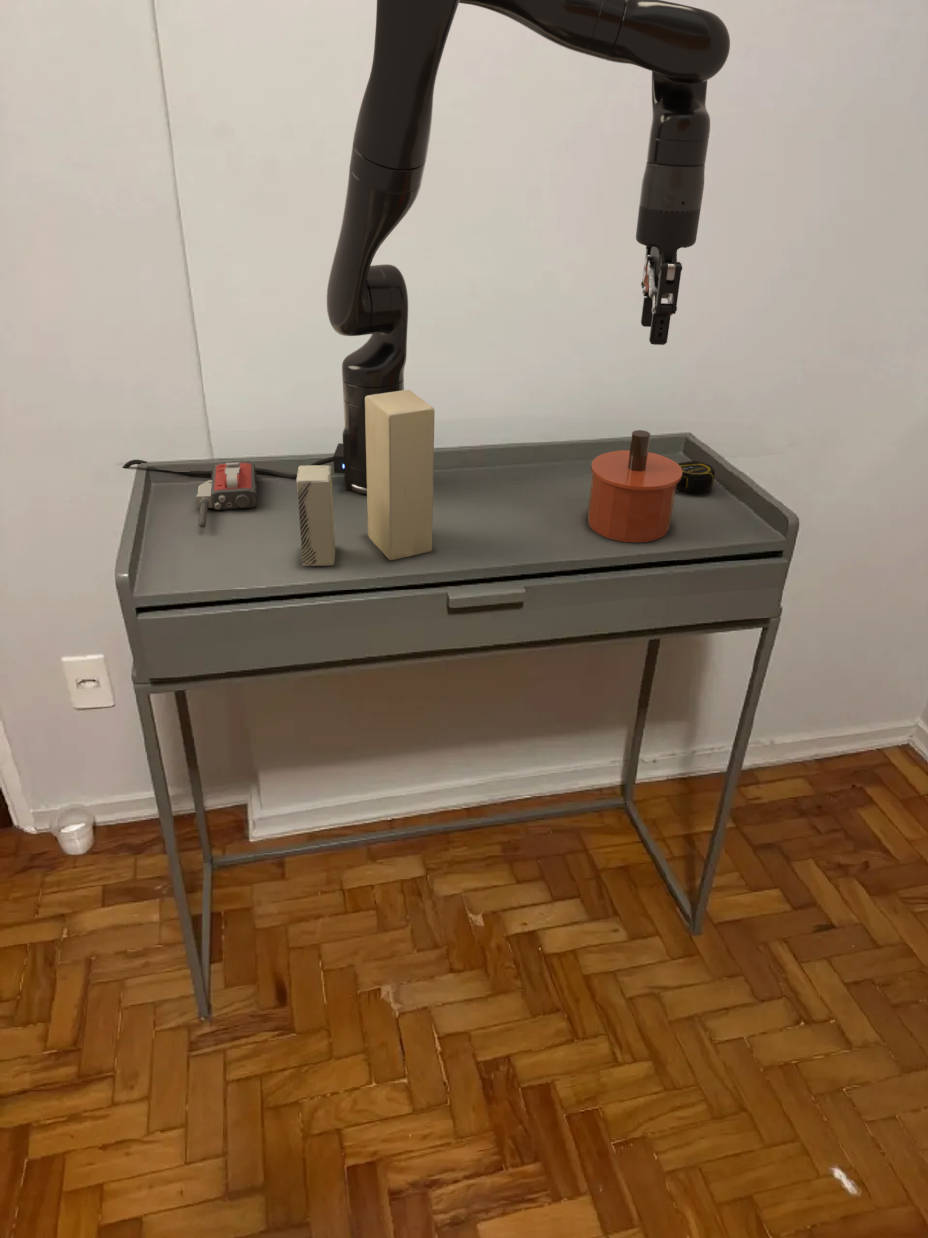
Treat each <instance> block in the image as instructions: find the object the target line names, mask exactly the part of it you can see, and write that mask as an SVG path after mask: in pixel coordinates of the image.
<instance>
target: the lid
mask: <svg viewBox="0 0 928 1238" xmlns="http://www.w3.org/2000/svg"><path fill="white" fill-rule="evenodd" d="M650 442H651V433H650V431H647V430H642V429H637V430H633V431H632V432H631V437H630V446H629V449H623V450H613V451H608V452H604V453H601V454H600V455H599V454H598V455H597V456H596V457H595V458H594V459H593V460H592V461H591V465H590V470H591V474H592V473H593V474H594V475H595V476H596V477H597V478H598V479H600V480H602V481H603V482H605V483H608V484H610V485H613V486H617V487H621V488H625V489H632V490H659V489H665V488H668V487H671V486H673V485H675V484H677V483H678V482H679V481H680V480H681V478H682V469H681V467H680V466H679V465H678V463H677V462H676V461H674V460H673V459H671V458H669V457H666V456H665V455H661V454H657V453H654V452H650V451H649V450H650V449H649V448H650Z"/></svg>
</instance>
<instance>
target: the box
mask: <svg viewBox="0 0 928 1238" xmlns="http://www.w3.org/2000/svg"><path fill="white" fill-rule="evenodd" d="M296 474H297V479H296V489H297V490H296V491H297V502H298V516H299V518H298V519H299V533H300V549H301V562H302V566H303V567H321V566H323V567H324V566H325V567H326V566H327V567H329V566H330V567H331V566H334V565H335V559H336V540H335V539H336V538H335V521H334V517H335V516H334V500H333V498H334V497H333V482H332V466H331V465H327V464H322V465H317V466H310V465H299V466H298V468H297V473H296Z"/></svg>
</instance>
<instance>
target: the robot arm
mask: <svg viewBox="0 0 928 1238" xmlns="http://www.w3.org/2000/svg"><path fill="white" fill-rule="evenodd" d="M460 4H464V5H471V6H475V7H480V8H483V9H486V10H488V11H492V12H495V13H497V14H500V15H503V16H504V17H506V18H509V19H511V20H512V21H513V22H516V23H518V24H520V25H522V26H523V27H525V28H527V29H528V30H530V31H532V32H533V33H535V34H536V35H539V36H540V37H542V38H544V39H545V40H548V41H549V42H551V43H554V44H556V45H558V46H559V47H562V48H564V49H567V50H570V51H573V52H575V53H578V54H583V55H586V56H590V57H593V58H597V59H600V60H603V61H607V62H611V63H616V64H617V63H618V64H625V65H626V64H628V65H633V66H637V67H640V68H642V69H645V70H647V71H651V109H652V110H651V111H652V113H651V114H652V115H651V117H652V119H651V125H650V129H649V130H650V131H649V137H648V146H647V155H646V162H645V168H644V172H643V177H642V180H641V188H640V195H639V196H640V197H639V206H638V213H637V221H636V232H635V240H636V242H637V243H639V244H640V245H643V246H645V257H644V265H643V271H642V280H641V283H640V286H641V289H642V290H641V292H642V296H643V302H642V308H641V309H642V310H641V318H640V324H641V326H642V327H645V328H646V327H647V328H650V329H649V331H650V332H649V337H648V341H649V343H650V344H651V345H653V346H654V345H655V346H664V345H666V344H667V343H668V338H669V337H668V336H669V331H670V324H671V323H670V322H671V317H672V316H673V315H676V313H677V311H678V299H679V291H680V290H679V289H680V282H681V276H682V271H683V264H682V263H681V261H678V250H680V249H681V248H682V249H686V248H690V247H692V246H694V245H695V244H696V242H697V237H698V229H699V222H700V217H701V209H702V203H703V197H704V196H703V194H704V191H705V190H704V189H705V169H706V162H707V161H706V160H707V154H708V147H709V141H710V140H709V139H710V133H711V118H710V117H711V116H710V114H709V112H708V110H707V105H706V104H707V103H706V101H707V89H708V81H709V80H711V79H712V78H714V77H715V76H716V75H717V74H718V73H719V72H720V71H721V70H722V68H723V67H724V66H725V64H726V62H727V61H728V58H729V55H730V49H731V37H730V33H729V29H728V28H727V26H726V24H725V22H724V21H723V20H722V19H721V17H719V16H718V15H717V14H716V13H713V12H712V11H708V10H705V9H702V8H698V7H694V6H690V5H687V4H686V5H685V4H681V3H676V2H673V1H672V2H671V1H668V0H667V1H666V0H376V11H375V12H376V14H375V30H374V31H375V34H374V48H373V57H372V63H371V70H370V72H369V73H370V74H369V78H368V81H367V84H366V86H365V90H364V93H363V96H362V99H361V103H360V107H359V111H358V113H357V119H356V123H355V127H354V133H353V141H352V146H351V154H350V160H349V162H350V163H349V168H348V178H347V188H346V194H345V202H344V209H343V214H342V219H341V220H342V221H341V226H340V231H339V235H338V239H337V243H336V247H335V251H334V255H333V259H332V263H331V267H330V270H329V271H330V272H329V276H328V281H327V286H326V287H327V289H326V312H327V317H328V320H329V323H330V326H331V327H332V329H333V330H334V331H335V332H336V334H339V335H341V336H343V337H358V336H368V335H370V337H369V338H368V339H367V341H365V343H364V344H363V345H361V346H360V347H358V349H356V350H354V351H352V352H351V353H349V354H347V355H346V356H345V357H344V358H343V360H342V362H341V378H342V380H341V381H342V398H343V399H342V400H343V420H344V421H343V422H344V428H343V431H342V443H339V442H338V443H337V446H336V447H335V448H336V449H335V451H334V453H333V456H330V457H326V458H322V459H320V460H317V461H315V462H313V463H311V464H309V466H317V465H327V464H329V463H333V472H334V474H344V490H346V491H353V492H356V493H357V494H361V495H367V467H366V426H365V397H366V396H369V395H374V394H382V393H388V392H395V391H402V390H405V366H406V363H407V355H408V354H407V353H408V352H407V351H408V329H409V328H408V326H409V325H408V324H409V295H408V288H407V283H406V279H405V278H404V275H403V273H402V271H401V270H400V269H399V268H398V267H397V266H395V265H393V264H388V263H384V264H383V263H382V264H373V265H372V262H373V260H374V258H375V257H376V255H377V252H378V250H379V249H380V247H381V246H382V245H383V243H384V242H385V241H386V239H387V238H388V237H389V236H390V235H391V234H392V232H393V231H394V230H395V229H396V227H397V226H398V225H399V224H400V222H401V221H402V220H403V219H404V218H405V216H406V215H407V214H408V213H409V211H410V210H411V208H412V207H413V206H414V203H415V202H416V200H417V198H418V195H419V193H420V191H421V185H422V182H423V177H424V172H425V167H426V162H427V157H428V151H429V145H430V139H431V131H432V123H433V109H434V107H433V106H434V92H435V85H436V80H437V75H438V73H439V67H440V64H441V61H442V58H443V53H444V49H445V48H446V47H445V46H446V44H447V40H448V37H449V34H450V31H451V28H452V25H453V21H454V18H455V15H456V13H457V10H458V7H459V5H460ZM662 299H665V300H667V303H663V302H662ZM147 462H148V461H146V460H142V459H131V460H128V461H127V462H126V463H125V464H123V466H122V469H128V468H130V467H131V466H134V465H139V464H141V463H147ZM255 472H256V474H265V475H269V476H274V477H277V478H278V477H279V478H283V479H284V478H285V479H291V480H297V473H295V474H294V473H292V474H291V473H290V474H289V473H285V472H280V471H276V470H272V469H267V468H261V467H260V468H259V467H255ZM176 473H177V474H183V475H191V476H203V477H204V476H207V477H211V474H212V470H197V471H190V472H176Z"/></svg>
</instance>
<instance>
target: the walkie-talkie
mask: <svg viewBox="0 0 928 1238" xmlns="http://www.w3.org/2000/svg"><path fill="white" fill-rule="evenodd" d="M230 461H231V462H225V461H221V462H222V463H219V462H218V463H219V464H217V463H215V464H214V465H213V466H212V469H213V470H212V469H211V471H212V474H211V476H210V479H209V480H207V481H205V482H203V483H201V484H200V485H198V489H197V494H196V495H195V496H196V497H195V499H196V505H197V508H198V509H199V515H198V523H197V524H198V525H197V526H198V527H199V528H202V529H205V528H206V526H207V518H208V509H214V510H216V511H221V510H222V511H223V510H239V509H252V508H255V507H256V506H257V500H258V489H257V487H258V486H257V473H256V472H255V468H256V464H255V463H254V462H252V461H250V460H247V461H244V460H230ZM249 461H250V462H249ZM223 462H224V463H223ZM251 462H252V463H251Z"/></svg>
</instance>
